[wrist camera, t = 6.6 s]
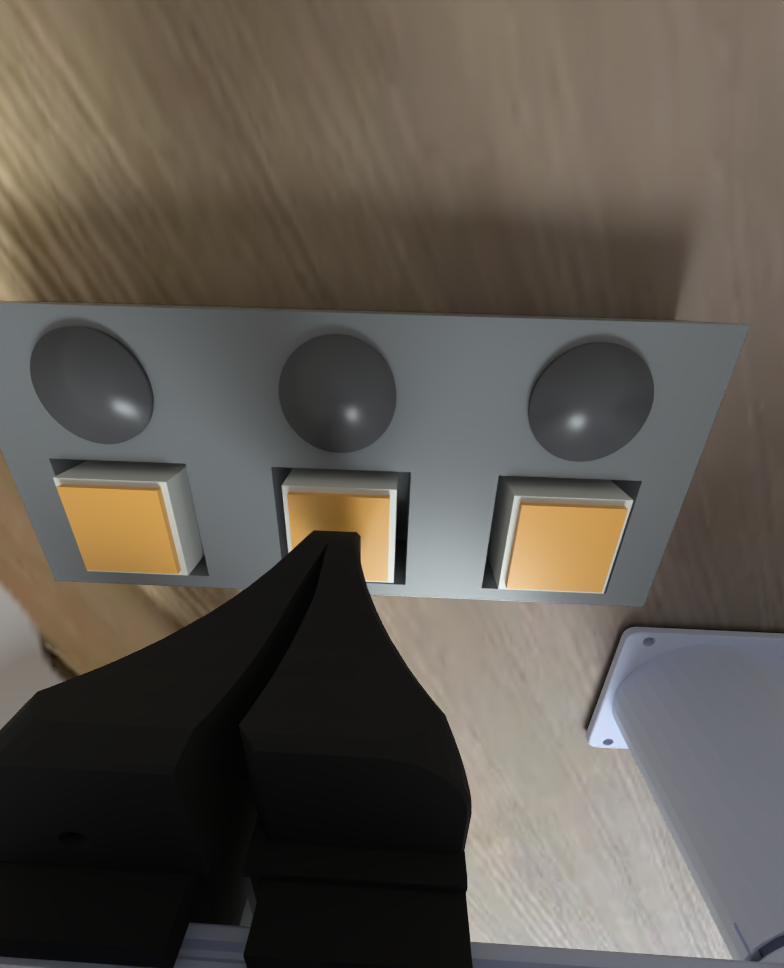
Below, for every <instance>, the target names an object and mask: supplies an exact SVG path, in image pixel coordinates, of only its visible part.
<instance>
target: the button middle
mask: <svg viewBox="0 0 784 968" xmlns="http://www.w3.org/2000/svg"><path fill="white" fill-rule="evenodd" d="M282 494H283V504H284V514H285V524H286V534H287V543H288V553H289V552H290V551H291V550H292V549H294V548H295V547H296V546H297V545H298V544H299V543H300V542H301V541H302V540H303V539H304V538H305V537H307V536H308V535H309V534H310V533H311V532H312V531H313V530H320V531H343V532H357V533H358V534H359V535H360V536H361V566H362V569H363V573H364V577H365V581H366V582H386V583H394V566H395V546H396V522H397V494H398V472H393V471H367V470H341V469H314V468H293V469H292V471H291V472H290V474H289V475H288V477H287V478H286V480H285V481H284V483H283V484H282Z"/></svg>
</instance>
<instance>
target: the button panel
mask: <svg viewBox="0 0 784 968" xmlns="http://www.w3.org/2000/svg"><path fill="white" fill-rule="evenodd" d="M749 328H750V325H744V324H729V323H714V322H699V321H684V320H661V319H627V318H593V317H559V316H525V315H490V314H456V313H422V312H388V311H354V310H320V309H286V308H251V307H217V306H183V305H149V304H115V303H81V302H46V301H0V449H1V451H2V454H3V456H4V458H5V461H6V463H7V466H8V468H9V470H10V473H11V475H12V478H13V480H14V482H15V485H16V487H17V490H18V492H19V494H20V497H21V499H22V502H23V504H24V506H25V509H26V511H27V514H28V516H29V519H30V521H31V523H32V526H33V528H34V531H35V533H36V535H37V538H38V540H39V543H40V545H41V547H42V550H43V552H44V555H45V557H46V559H47V562H48V564H49V567H50V569H51V571H52V574H53V576H54V579H55V581H72V582H94V583H117V584H139V585H162V586H184V587H207V588H229V589H246V588H247V587H249V586H250V585H251V584H252V583H254V582H255V581H256V580H257V579H259V578H260V577H261V576H262V575H264V574H265V573H266V572H268V571H269V570H270V569H271V568H272V567H273V566H275V565H276V564H277V563H278V562H279V561H280V560H281V559H283V558H284V557H285V556H286V555H287V554H288V543H287V534H286V524H285V514H284V504H283V494H282V484H283V483H284V481H285V480H286V478H287V477H288V475H289V474H290V472H291V471H292V469H293V468H314V469H341V470H367V471H393V472H398V494H397V522H396V546H395V566H394V583H386V582H366V584H367V587H368V590H369V593H370V595H386V596H409V597H431V598H454V599H476V600H499V601H521V602H543V603H566V604H588V605H611V606H633V607H644V604H645V601H646V599H647V596H648V593H649V591H650V588H651V586H652V583H653V580H654V578H655V575H656V572H657V570H658V567H659V564H660V562H661V559H662V557H663V554H664V551H665V549H666V546H667V543H668V541H669V538H670V536H671V533H672V530H673V528H674V525H675V522H676V520H677V517H678V514H679V512H680V509H681V507H682V504H683V501H684V499H685V496H686V493H687V491H688V488H689V486H690V483H691V480H692V478H693V475H694V472H695V470H696V467H697V464H698V462H699V459H700V457H701V454H702V451H703V449H704V446H705V443H706V441H707V438H708V436H709V433H710V430H711V428H712V425H713V422H714V420H715V417H716V414H717V412H718V409H719V407H720V404H721V401H722V399H723V396H724V393H725V391H726V388H727V386H728V383H729V380H730V378H731V375H732V372H733V370H734V367H735V364H736V362H737V359H738V357H739V354H740V351H741V349H742V346H743V343H744V341H745V338H746V336H747V333H748V330H749ZM87 460H103V461H129V462H156V463H182V464H186V468H187V473H188V478H189V482H190V487H191V492H192V497H193V502H194V506H195V511H196V516H197V521H198V525H199V530H200V535H201V540H202V545H203V549H204V554H205V555H204V556H203V558H202V559H201V560H200V561H199V563H198V564H197V565H196V566H195V568H194V569H193V570H192V571H191V573H190V574H189V575H166V574H143V573H120V572H97V571H87V569H86V566H85V564H84V561H83V558H82V556H81V553H80V550H79V547H78V545H77V542H76V539H75V537H74V534H73V531H72V528H71V526H70V523H69V520H68V517H67V515H66V512H65V509H64V507H63V504H62V501H61V498H60V496H59V493H58V490H57V488H56V485H55V482H54V479H53V477H55V476H57V475H59V474H61V473H63V472H65V471H67V470H69V469H71V468H73V467H75V466H77V465H79V464H81V463H83V462H85V461H87ZM499 476H526V477H552V478H578V479H605V480H611V481H612V482H613V483H614V484H616V485H617V486H618V487H619V488H620V489H621V490H622V491H624V492H625V493H626V494H627V495H628V496H629V497H630V498H632V499H633V503H632V506H631V510H630V513H629V516H628V519H627V522H626V525H625V528H624V532H623V535H622V538H621V541H620V544H619V547H618V550H617V553H616V557H615V560H614V563H613V566H612V569H611V572H610V575H609V578H608V582H607V585H606V588H605V591H604V594H598V593H576V592H553V591H530V590H507V589H498V587H497V584H496V581H495V578H494V575H493V572H492V568H491V565H490V562H489V559H488V556H487V549H488V543H489V536H490V530H491V523H492V517H493V510H494V504H495V497H496V491H497V484H498V478H499Z"/></svg>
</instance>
